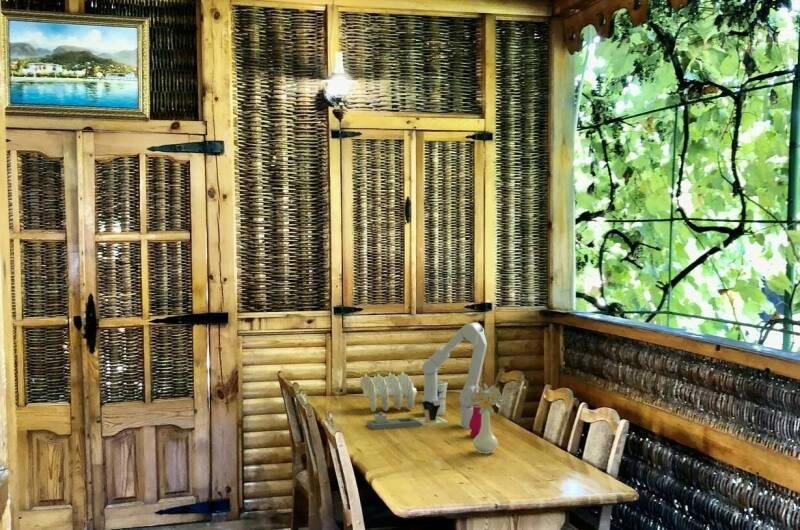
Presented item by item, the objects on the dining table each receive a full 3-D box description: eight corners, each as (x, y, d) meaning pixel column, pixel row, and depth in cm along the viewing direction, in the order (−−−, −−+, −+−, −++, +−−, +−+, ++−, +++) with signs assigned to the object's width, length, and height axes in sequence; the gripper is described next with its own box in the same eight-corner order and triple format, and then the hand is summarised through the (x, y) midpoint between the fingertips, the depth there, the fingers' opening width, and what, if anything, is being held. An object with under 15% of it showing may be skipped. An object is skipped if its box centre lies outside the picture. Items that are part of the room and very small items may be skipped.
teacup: (436, 419, 379) (436, 401, 379) (416, 416, 385) (416, 398, 385) (453, 414, 390) (453, 396, 390) (434, 411, 397) (434, 394, 396)
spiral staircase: (417, 419, 399) (366, 420, 390) (405, 397, 414) (356, 397, 405) (425, 386, 391) (373, 386, 383) (413, 365, 406) (363, 365, 398)
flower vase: (474, 459, 308) (474, 390, 308) (465, 447, 327) (465, 382, 326) (509, 458, 310) (509, 389, 309) (498, 446, 328) (498, 381, 327)
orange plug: (436, 422, 370) (436, 408, 370) (428, 423, 368) (428, 409, 368) (433, 420, 373) (433, 407, 373) (424, 421, 372) (424, 407, 372)
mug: (423, 404, 415) (423, 383, 414) (431, 398, 429) (431, 378, 429) (444, 405, 412) (444, 384, 411) (451, 399, 426) (451, 379, 426)
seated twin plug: (386, 427, 360) (386, 413, 360) (377, 428, 359) (377, 413, 359) (383, 425, 364) (383, 411, 364) (374, 426, 363) (374, 412, 363)
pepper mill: (486, 438, 341) (486, 388, 341) (468, 437, 343) (468, 388, 342) (487, 434, 348) (487, 385, 348) (470, 433, 350) (470, 385, 349)
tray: (448, 424, 367) (448, 421, 367) (422, 426, 364) (422, 423, 364) (438, 419, 378) (438, 416, 378) (413, 421, 375) (413, 418, 375)
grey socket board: (419, 427, 362) (419, 421, 362) (373, 430, 355) (373, 425, 355) (411, 422, 371) (411, 417, 371) (367, 426, 365) (366, 420, 365)
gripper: (416, 385, 376) (416, 416, 376) (428, 391, 362) (428, 423, 363) (431, 385, 378) (431, 415, 379) (443, 390, 365) (443, 421, 365)
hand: (430, 419), depth 371 cm, fingers closed on orange plug, 4 cm apart
